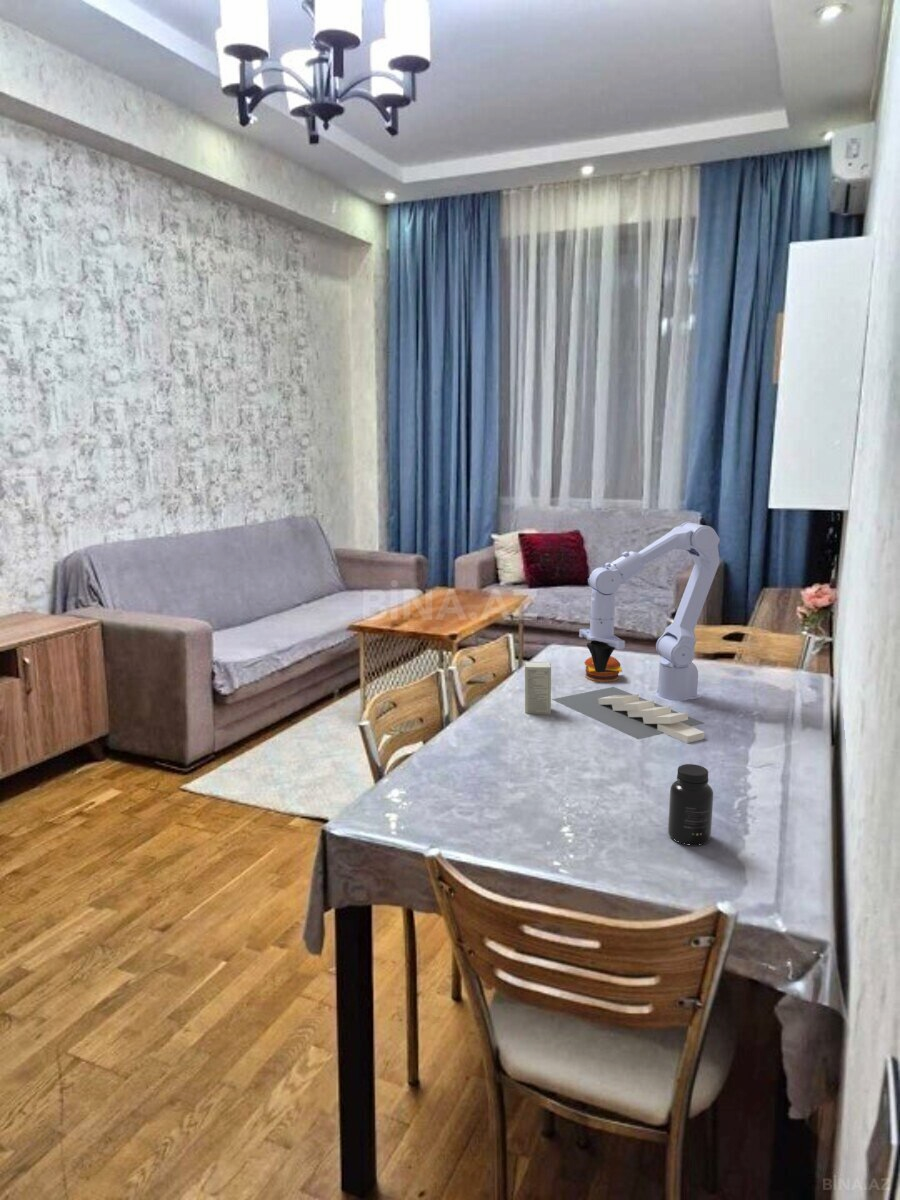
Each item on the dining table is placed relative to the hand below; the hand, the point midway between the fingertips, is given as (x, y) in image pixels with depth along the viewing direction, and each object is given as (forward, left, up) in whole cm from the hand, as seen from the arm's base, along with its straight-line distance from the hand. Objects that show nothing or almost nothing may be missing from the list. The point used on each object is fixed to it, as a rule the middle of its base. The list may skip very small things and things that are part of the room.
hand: (600, 671), depth 201 cm
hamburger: (-13, -14, -8) cm, 21 cm away
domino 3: (0, +13, -7) cm, 15 cm away
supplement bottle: (+32, +61, -8) cm, 69 cm away
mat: (0, +9, -8) cm, 12 cm away
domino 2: (0, +8, -7) cm, 10 cm away
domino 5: (0, +23, -7) cm, 24 cm away
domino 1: (0, +3, -7) cm, 7 cm away
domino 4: (0, +18, -6) cm, 19 cm away
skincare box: (+18, -1, -8) cm, 20 cm away
